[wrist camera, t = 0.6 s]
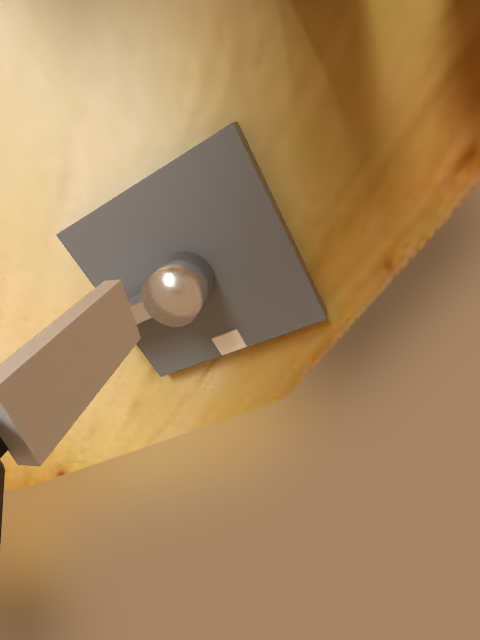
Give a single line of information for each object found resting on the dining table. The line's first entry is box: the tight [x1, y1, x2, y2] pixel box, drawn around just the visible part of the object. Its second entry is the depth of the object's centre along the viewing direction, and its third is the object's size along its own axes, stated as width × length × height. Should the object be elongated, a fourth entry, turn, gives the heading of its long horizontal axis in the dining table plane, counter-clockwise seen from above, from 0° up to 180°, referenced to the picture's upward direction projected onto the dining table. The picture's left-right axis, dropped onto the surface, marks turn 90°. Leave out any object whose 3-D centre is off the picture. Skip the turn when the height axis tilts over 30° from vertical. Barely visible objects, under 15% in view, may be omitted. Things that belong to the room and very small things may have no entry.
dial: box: [128, 252, 214, 327], centre depth 40 cm, size 15×6×6 cm, turn 119°
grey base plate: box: [57, 122, 327, 377], centre depth 42 cm, size 22×24×2 cm
